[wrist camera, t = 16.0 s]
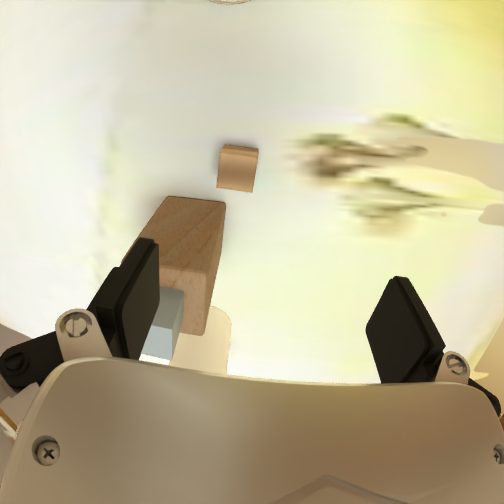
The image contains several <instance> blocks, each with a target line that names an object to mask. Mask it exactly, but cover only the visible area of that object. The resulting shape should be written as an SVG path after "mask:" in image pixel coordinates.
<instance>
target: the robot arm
mask: <svg viewBox="0 0 504 504" xmlns="http://www.w3.org/2000/svg"><path fill="white" fill-rule="evenodd" d="M210 1H213V2H216V3H222V4H237V3H243V2H246V1H249V0H210ZM159 302H160V283H159V244H157V243H155V241H154V239H150V238H143V237H139V238H138V240H137V241H136V243H135V244H134V246H133V247H132V248H131V250H130V251H129V253H128V254H127V256H126V257H125V259H124V260H123V262H122V264H121V265H120V267H114V268H113V269H112V270H111V272H110V273H109V275H108V276H107V278H106V279H105V281H104V282H103V284H102V285H101V287H100V289H99V290H98V292H97V293H96V295H95V296H94V298H93V300H92V301H91V303H90V305H89V306H88V308H87V309H86V310H85V309H71V310H69V311H66V312H65V313H63V314H62V315H60V317H59V318H58V319H57V321H56V324H55V330H56V331H54V332H51V333H48V334H46V335H43V336H40V337H37V338H35V339H32V340H29V341H26V342H24V343H21V344H18V345H16V346H13V347H11V348H9V349H7V350H6V351H5V352H4V353H3V354H2V356H1V357H0V504H504V414H502V415H500V413H501V406H500V403H499V400H498V399H497V397H496V396H494V395H493V394H492V393H490V392H489V391H487V390H486V389H484V388H483V387H482V386H480V385H479V384H477V383H476V382H475V381H473V380H472V379H470V378H469V375H470V367H469V364H468V363H467V361H466V360H465V359H464V357H462V356H461V355H460V354H458V353H456V352H452V351H449V352H446V353H445V354H444V353H443V349H444V348H445V347H446V345H445V343H444V341H443V339H442V338H441V336H440V334H439V332H438V330H437V328H436V326H435V324H434V322H433V320H432V319H431V317H430V315H429V313H428V311H427V310H426V308H425V306H424V304H423V302H422V301H421V299H420V297H419V296H418V294H417V292H416V290H415V289H414V287H413V285H412V284H411V282H410V280H409V279H408V278H406V277H400V276H394V277H393V279H390V280H389V282H388V284H387V286H386V288H385V290H384V292H383V294H382V296H381V298H380V300H379V302H378V304H377V306H376V308H375V310H374V312H373V314H372V316H371V318H370V320H369V321H368V323H367V325H366V335H367V338H368V341H369V344H370V347H371V351H372V354H373V357H374V360H375V363H376V367H377V370H378V373H379V377H380V380H381V384H351V383H317V382H299V381H285V380H273V379H262V378H252V377H243V376H235V375H227V374H219V373H212V372H206V371H199V370H193V369H186V368H180V367H174V366H168V365H163V364H157V363H152V362H145V361H139V358H140V355H141V352H142V349H143V346H144V344H145V341H146V338H147V336H148V333H149V330H150V328H151V325H152V322H153V320H154V317H155V314H156V312H157V309H158V307H159ZM21 421H23V422H22V424H21V426H20V429H19V431H18V434H17V437H16V429H17V426H18V425H19V424H20V423H21ZM52 448H53V449H54V450H52Z"/></svg>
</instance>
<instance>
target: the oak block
mask: <svg viewBox="0 0 504 504" xmlns="http://www.w3.org/2000/svg"><path fill="white" fill-rule="evenodd" d="M257 160H258V149H254V148H248V147H240V146H233V145H225V146H224V148H223V149H222V151H221V153H220V160H219V169H218V178H217V187H216V188H223V189H230V190H237V191H244V192H251V193H252V191H253V185H254V179H255V173H256V167H257Z"/></svg>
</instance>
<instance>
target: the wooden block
mask: <svg viewBox="0 0 504 504" xmlns="http://www.w3.org/2000/svg"><path fill="white" fill-rule="evenodd" d="M225 210H226V204H225V203H222V202H214V201H206V200H198V199H189V198H180V197H171V196H168V197H166V199H165V200H164V201H163V203H162V204H161V205H160V207H159V208H158V209H157V211H156V212H155V214H154V215H153V216H152V218H151V219H150V220H149V222H148V223H147V225H146V226H145V227H144V229H143V230H142V232H141V233H140V234H139V236H138V237H137V239H136V240H135V242H134V243H133V245H132V246H131V247H130V249H129V250H128V252H127V253H126V255H125V256H124V258H123V259H122V262H123V260H124V259H125V257H126V256H127V254H128V253H129V251H130V250H131V248H132V247H133V246H134V244H135V243H136V241H137V240H138V238H139V237H143V238H150V239H154V241H155V243H157V244H159V283H160V286H161V287H166V288H171V289H176V290H182V291H184V304H183V322H182V326H181V330H180V333H184V334H190V335H197V336H203V334H204V333H205V328H206V323H207V318H208V313H209V308H210V303H211V298H212V293H213V288H214V284H215V279H216V274H217V269H218V265H219V260H220V256H221V248H222V238H223V229H224V220H225ZM122 262H121V264H122Z"/></svg>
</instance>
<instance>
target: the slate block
mask: <svg viewBox="0 0 504 504" xmlns="http://www.w3.org/2000/svg"><path fill="white" fill-rule="evenodd" d="M183 304H184V291H182V290H176V289H171V288H166V287H161V286H160V302H159V307H158V309H157V312H156V314H155V317H154V320H153V322H152V325H151V328H150V330H149V333H148V336H147V338H146V341H145V344H144V346H143V349H142V352H141V354H146V355H150V356H154V357H159V358H163V359H168V360H172V359H173V355H174V351H175V348H176V344H177V340H178V337H179V333H180V330H181V326H182V322H183Z"/></svg>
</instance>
